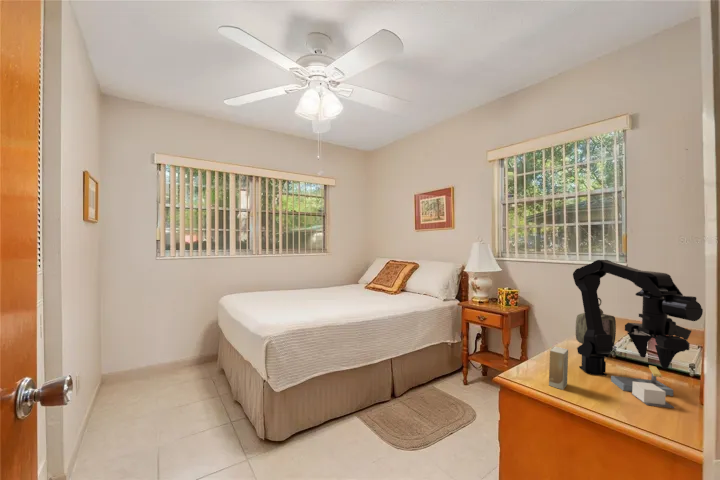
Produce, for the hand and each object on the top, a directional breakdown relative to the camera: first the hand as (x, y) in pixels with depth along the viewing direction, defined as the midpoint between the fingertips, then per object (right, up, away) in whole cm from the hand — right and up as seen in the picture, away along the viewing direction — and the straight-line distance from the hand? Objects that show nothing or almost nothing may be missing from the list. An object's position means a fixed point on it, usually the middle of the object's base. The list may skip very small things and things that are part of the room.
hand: (653, 362), depth 96 cm
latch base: (+4, -12, +8) cm, 15 cm away
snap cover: (-1, -12, 0) cm, 12 cm away
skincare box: (-24, -12, +9) cm, 28 cm away
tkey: (+7, -10, +7) cm, 14 cm away
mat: (0, -12, 0) cm, 12 cm away
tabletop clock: (+14, -13, +42) cm, 46 cm away
